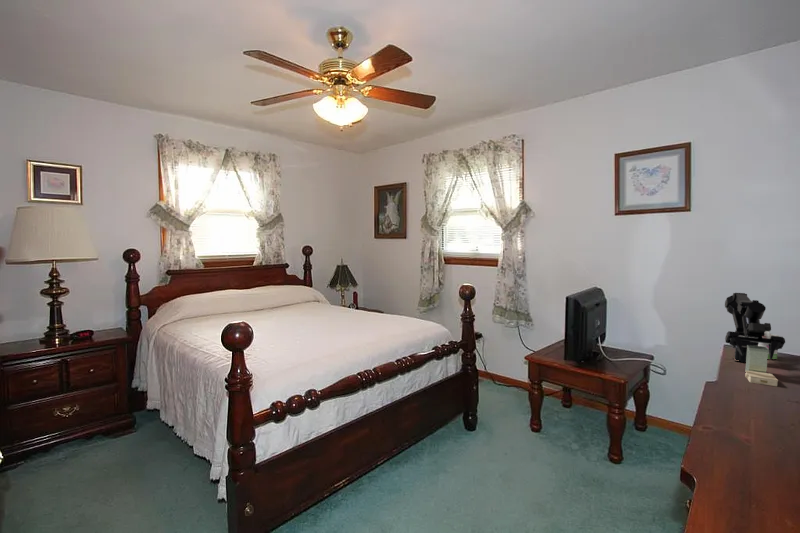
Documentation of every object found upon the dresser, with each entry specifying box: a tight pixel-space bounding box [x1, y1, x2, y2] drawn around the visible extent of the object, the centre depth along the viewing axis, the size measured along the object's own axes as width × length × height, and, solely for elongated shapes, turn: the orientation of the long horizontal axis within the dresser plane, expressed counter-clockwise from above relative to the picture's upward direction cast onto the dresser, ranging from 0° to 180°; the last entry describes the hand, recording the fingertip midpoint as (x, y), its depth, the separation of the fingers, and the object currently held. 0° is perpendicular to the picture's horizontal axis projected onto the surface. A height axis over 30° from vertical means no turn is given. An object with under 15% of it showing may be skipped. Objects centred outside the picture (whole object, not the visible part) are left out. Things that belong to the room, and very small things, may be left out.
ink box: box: [758, 331, 780, 360], centre depth 194 cm, size 9×5×15 cm, turn 179°
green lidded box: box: [744, 345, 769, 373], centre depth 169 cm, size 6×6×12 cm
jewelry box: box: [744, 370, 779, 387], centre depth 162 cm, size 8×8×3 cm
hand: (756, 357), depth 168 cm, fingers open, 9 cm apart
